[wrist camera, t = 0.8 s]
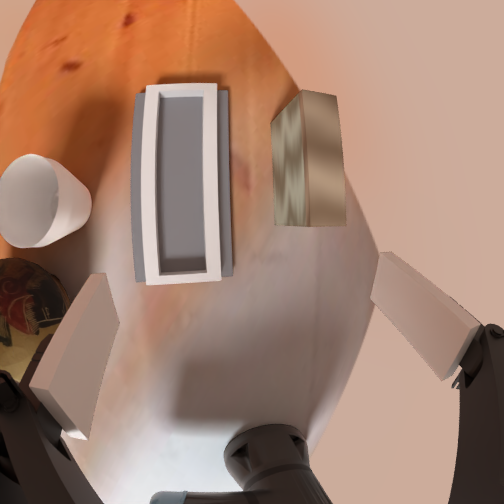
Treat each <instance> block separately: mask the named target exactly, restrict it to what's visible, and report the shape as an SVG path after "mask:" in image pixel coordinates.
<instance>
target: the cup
mask: <svg viewBox="0 0 504 504" xmlns="http://www.w3.org/2000/svg"><path fill="white" fill-rule="evenodd" d="M91 208H92V200H91V195H90V193H89V191H88V189H87V188H86V186H85V185H84V184H82V183H81V182H80V181H79V180H78V179H77V178H76V177H75V176H73V175H72V174H71V173H70V172H69V171H68V170H67V169H66V168H65V167H63V166H62V165H61V164H60V163H58V162H57V161H55V160H53V159H50V158H45V157H42V156H39V155H35V154H28V155H24V156H21V157H19V158H17V159H16V160H15V161H13V162H12V163H11V164H10V165H9V166H8V167H7V169H6V170H5V171H4V173H3V175H2V176H1V178H0V233H1V235H2V237H3V238H4V239H5V240H6V241H7V242H8V243H9V244H11V245H12V246H14V247H18V248H31V247H43V246H46V245H49V244H51V243H53V242H54V241H56V240H58V239H60V238H62V237H64V236H66V235H68V234H70V233H72V232H74V231H76V230H78V229H80V228H81V227H82V226H83V225H84V224H85V223H86V222H87V220H88V218H89V216H90V213H91Z"/></svg>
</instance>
